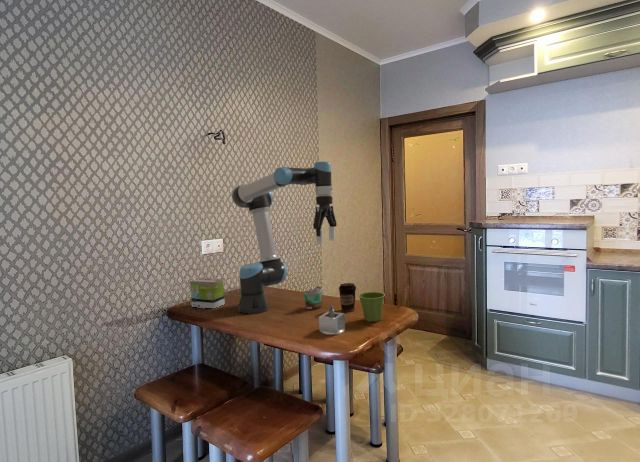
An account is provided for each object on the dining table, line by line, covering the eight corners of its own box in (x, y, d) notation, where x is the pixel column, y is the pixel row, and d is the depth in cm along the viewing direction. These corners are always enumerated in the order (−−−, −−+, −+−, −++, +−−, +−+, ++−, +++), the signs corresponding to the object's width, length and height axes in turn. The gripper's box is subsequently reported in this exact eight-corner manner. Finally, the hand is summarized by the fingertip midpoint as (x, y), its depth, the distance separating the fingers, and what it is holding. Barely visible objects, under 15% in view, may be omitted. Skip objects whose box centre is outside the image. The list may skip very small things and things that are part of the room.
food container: (314, 312, 188) (313, 291, 188) (304, 310, 192) (303, 290, 191) (327, 305, 199) (326, 286, 198) (317, 304, 202) (316, 285, 201)
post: (316, 333, 157) (314, 306, 157) (326, 325, 166) (325, 300, 166) (338, 335, 153) (337, 308, 152) (348, 328, 162) (347, 302, 161)
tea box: (191, 308, 208) (189, 281, 207) (203, 303, 217) (201, 277, 216) (214, 309, 202) (212, 281, 201) (225, 304, 212) (223, 278, 211)
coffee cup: (355, 313, 184) (354, 286, 183) (338, 312, 185) (337, 286, 184) (357, 308, 192) (356, 282, 191) (341, 307, 194) (340, 282, 193)
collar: (319, 331, 158) (318, 317, 157) (327, 325, 165) (327, 311, 165) (337, 333, 154) (336, 318, 154) (345, 327, 161) (344, 313, 161)
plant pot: (365, 314, 180) (364, 291, 179) (390, 317, 174) (389, 292, 173) (354, 322, 170) (353, 296, 169) (380, 325, 164) (379, 299, 163)
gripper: (319, 195, 164) (321, 245, 166) (342, 195, 187) (344, 239, 188) (303, 196, 168) (306, 245, 169) (328, 196, 190) (330, 239, 192)
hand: (326, 242), depth 179 cm, fingers open, 13 cm apart
